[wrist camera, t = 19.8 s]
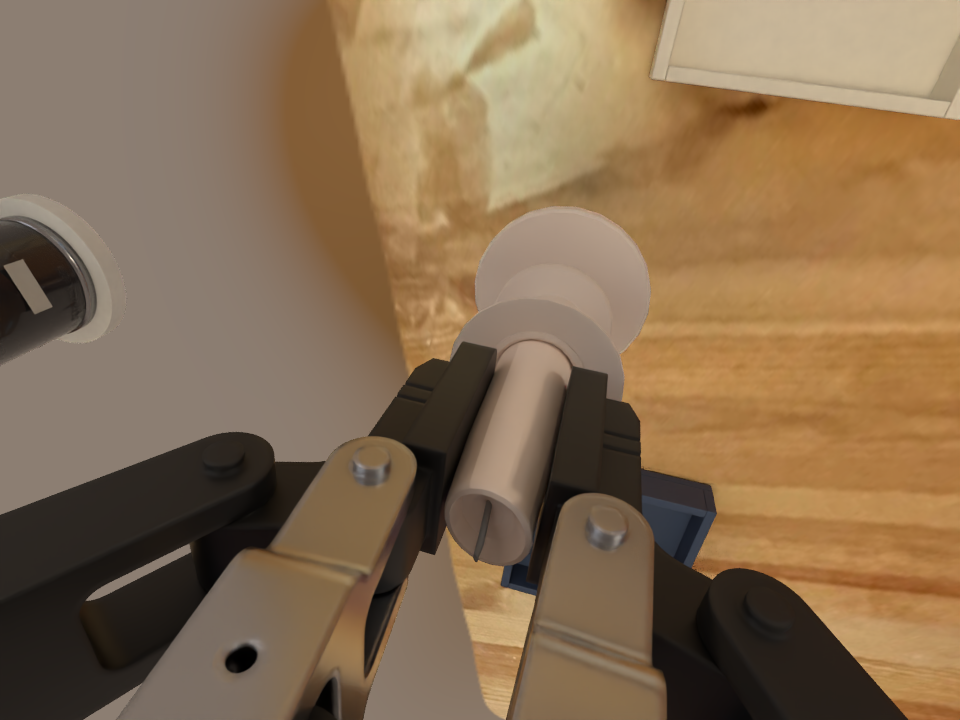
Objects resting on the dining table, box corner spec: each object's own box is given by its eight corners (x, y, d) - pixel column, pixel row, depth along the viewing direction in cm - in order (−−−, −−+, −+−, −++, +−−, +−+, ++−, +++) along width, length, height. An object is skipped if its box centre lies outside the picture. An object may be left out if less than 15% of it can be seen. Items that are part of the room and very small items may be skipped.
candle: (455, 324, 18) (283, 583, 9) (515, 174, 15) (350, 335, 6) (598, 390, 18) (566, 718, 9) (686, 251, 15) (762, 527, 6)
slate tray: (506, 559, 43) (500, 586, 41) (530, 442, 37) (524, 466, 35) (659, 601, 42) (661, 631, 39) (711, 485, 35) (717, 513, 33)
